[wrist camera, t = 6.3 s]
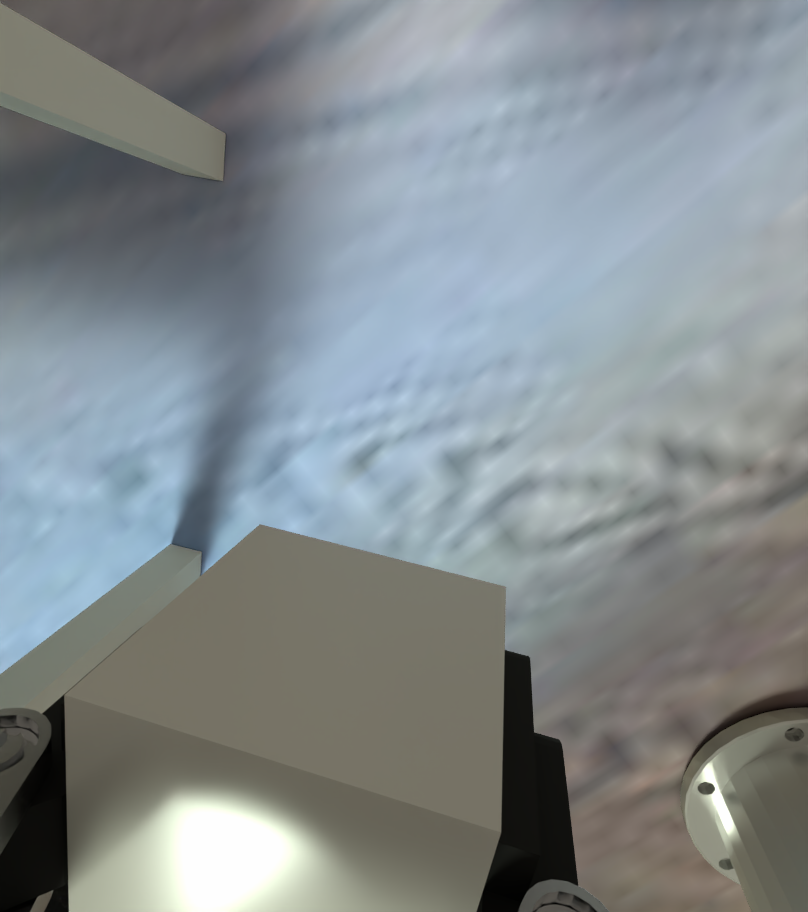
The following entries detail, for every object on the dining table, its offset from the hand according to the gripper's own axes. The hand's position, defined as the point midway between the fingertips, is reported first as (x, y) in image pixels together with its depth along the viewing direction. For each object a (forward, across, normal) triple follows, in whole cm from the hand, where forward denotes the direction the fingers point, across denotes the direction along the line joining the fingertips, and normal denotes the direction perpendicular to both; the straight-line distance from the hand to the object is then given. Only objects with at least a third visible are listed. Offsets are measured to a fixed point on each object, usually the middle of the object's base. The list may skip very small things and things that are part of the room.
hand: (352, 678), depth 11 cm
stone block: (+1, 0, 0) cm, 1 cm away
